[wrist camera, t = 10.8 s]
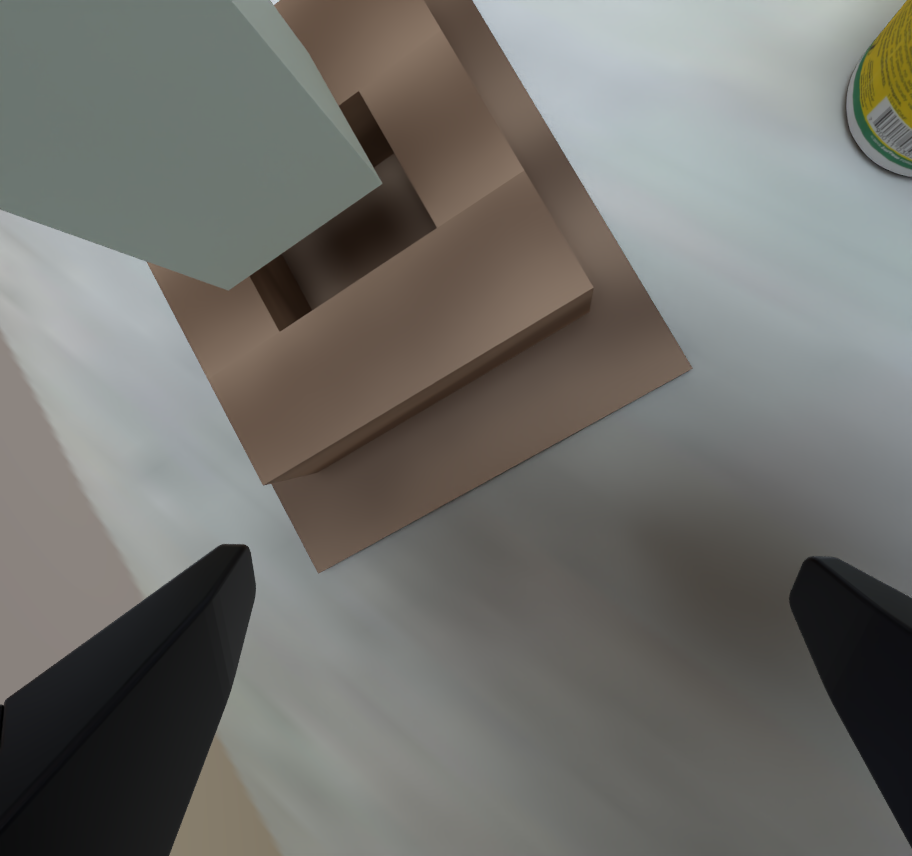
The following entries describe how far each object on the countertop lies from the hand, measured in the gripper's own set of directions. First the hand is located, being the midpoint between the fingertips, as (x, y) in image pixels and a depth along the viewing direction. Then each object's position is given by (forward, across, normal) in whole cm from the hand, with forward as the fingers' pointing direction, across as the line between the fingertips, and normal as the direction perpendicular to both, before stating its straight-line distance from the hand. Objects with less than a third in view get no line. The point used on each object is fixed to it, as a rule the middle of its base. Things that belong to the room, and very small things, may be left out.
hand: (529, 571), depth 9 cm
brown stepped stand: (+16, +4, -2) cm, 17 cm away
